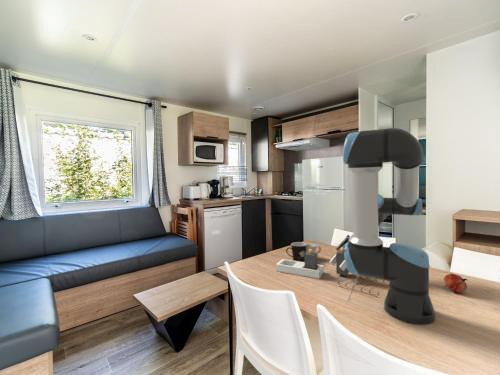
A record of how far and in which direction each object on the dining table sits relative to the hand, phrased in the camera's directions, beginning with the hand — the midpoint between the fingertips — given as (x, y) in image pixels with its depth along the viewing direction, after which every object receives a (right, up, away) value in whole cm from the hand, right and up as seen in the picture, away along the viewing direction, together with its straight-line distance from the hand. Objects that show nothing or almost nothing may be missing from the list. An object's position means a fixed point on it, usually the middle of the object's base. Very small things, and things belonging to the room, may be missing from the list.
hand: (336, 266), depth 121 cm
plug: (+3, -4, +1) cm, 5 cm away
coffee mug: (-15, -5, +23) cm, 28 cm away
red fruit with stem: (+43, -5, -17) cm, 46 cm away
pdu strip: (-16, -5, +7) cm, 19 cm away
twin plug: (-11, -5, +4) cm, 13 cm away
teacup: (-7, -4, +28) cm, 29 cm away
